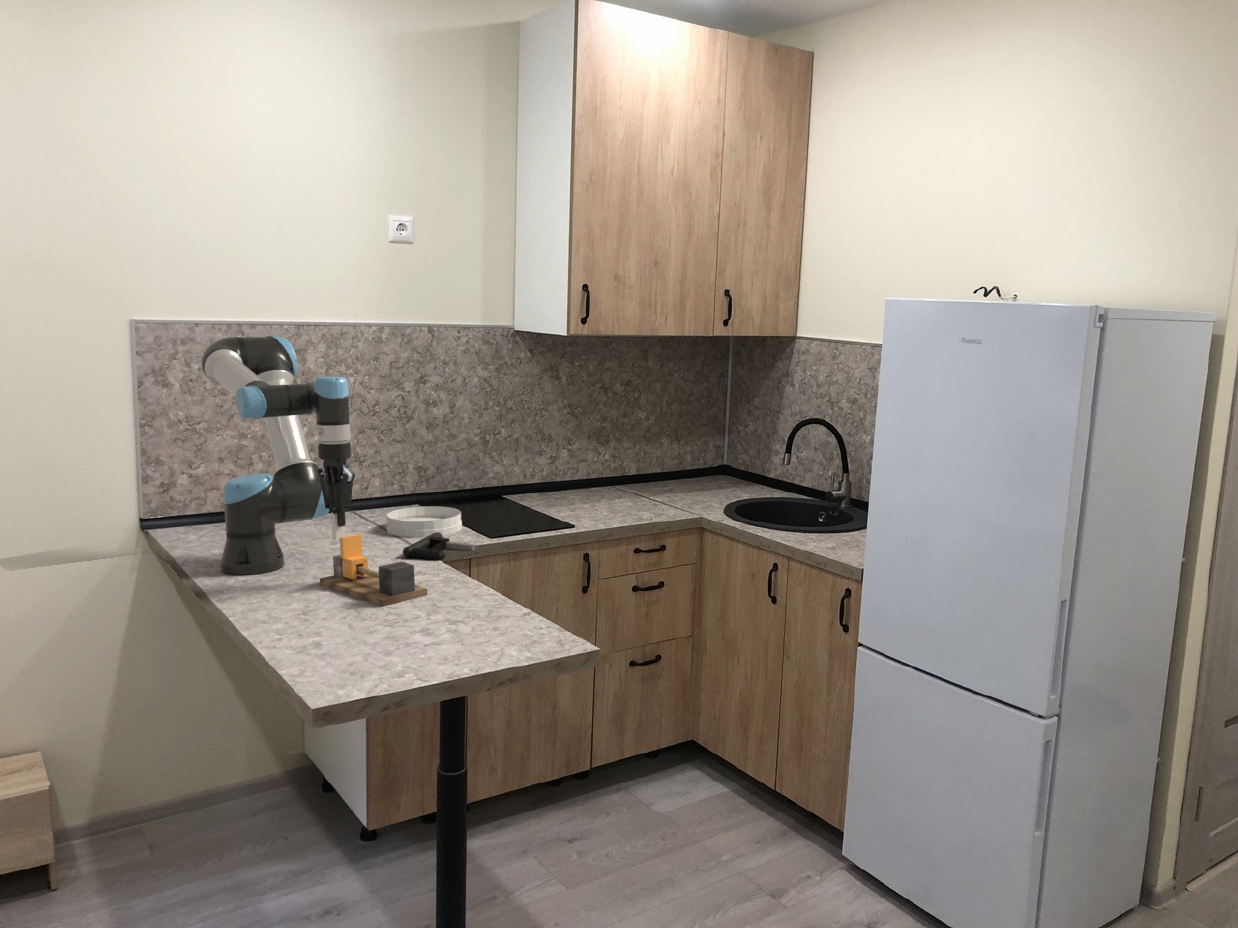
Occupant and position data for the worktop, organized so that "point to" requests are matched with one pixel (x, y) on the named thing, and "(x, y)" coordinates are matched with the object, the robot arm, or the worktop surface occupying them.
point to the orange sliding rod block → (352, 556)
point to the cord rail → (376, 583)
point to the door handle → (434, 547)
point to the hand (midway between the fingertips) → (339, 538)
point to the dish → (423, 521)
